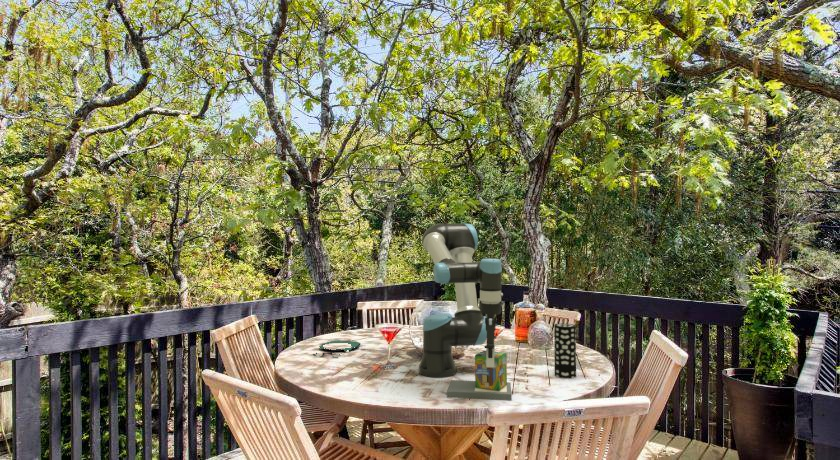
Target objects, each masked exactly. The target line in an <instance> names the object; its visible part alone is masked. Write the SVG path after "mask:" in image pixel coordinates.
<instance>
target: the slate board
mask: <svg viewBox="0 0 840 460" xmlns="http://www.w3.org/2000/svg"><path fill="white" fill-rule="evenodd" d="M511 385H512V384H511V382H510V381H507V385H506V386H504V387H503V388H502V389H500V390H499V391H498V390H491V389H483V388H476V387H475V380H462V379H461V380H460V379H459V380H458V379H450V381H449V384H448V387H447V390H446V398H452V397H458V398H457V399H475V400H498V401H512V397H513V396H512V386H511Z"/></svg>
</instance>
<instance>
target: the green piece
mask: <svg viewBox="0 0 840 460" xmlns="http://www.w3.org/2000/svg"><path fill="white" fill-rule="evenodd" d="M329 343H348V344H351V346H352V347H351V348H345V349H342V350H344V351H343V352H345V351H347V350H350V351H351V350H354V349H357V348H359V347H360V346H361V343H360V342H359V341H356V340H354V341H353V340H331V341H327V342H325V343H322V344H320V345H319V346H318V348H319V347H320V348H321V349H324V347H323V345H325V344H329ZM354 347H355V348H354ZM320 348H319V349H320ZM321 349H320V350H321ZM327 350H329V349H326V348H325V350H324V351H327ZM330 350H331V349H330ZM330 352H342V351H341V349H336V350H331V351H330ZM339 355H340V354H339Z"/></svg>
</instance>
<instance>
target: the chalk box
mask: <svg viewBox="0 0 840 460" xmlns="http://www.w3.org/2000/svg"><path fill="white" fill-rule="evenodd" d="M507 355H508V354H507V353H506V352H499V351H495V352H494V367H486V350H482V351H479V352H478V353H477V354H475V355H474V372H475V374H474V376H475V378H474V381H475V387H476V388H483V389H491V390H498V391H499V390H500V389H502V388H503V387H504V386H506V385H507V382H508V367H507V365H508V361H507V358H508V357H507Z"/></svg>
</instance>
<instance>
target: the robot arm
mask: <svg viewBox="0 0 840 460" xmlns="http://www.w3.org/2000/svg"><path fill="white" fill-rule="evenodd" d="M478 240H479V237H478V233H477V230H476V228H475V226H474V225H473V224H471V223H462V222H461V223H436V224H434V225H432V226H430V227H428V228H427V229H426V230H425V231H424V233H423V235H422V238H421V243H422V246H423V248H424V250H425V251H426V252H428V253H429V256H430V258H431V260H432V262H433V264H434V265H433V270H432V271H433V273H432V274H433V280H434V282H435V283H438V284H454V287H455V297H456V307H457V308H456V309H457V310H456V311H455V312H454V315H453V316H454V317H453V316H452V314H450V313H436V314H432V315H428V316H426V317H425V318H424V320H423V324H422V336H423V337H422V342H423V345H422V346H423V347H422V350H423V351H422V352H423V353H422V357H421V360H420V363H419V368H418V372H419V374H420V375H421V374H422V376H424V377H430V378H447V377H451V376H454V375H456V373H457V366H456V363H455V360H454V356H453V351H452V350H453V349H452V347H463V346H465V347H467V346H469V347H470V346H473V347H475V346H480V345H484V344H485V342H486V345H484V349H485V351H486V367H494V352H496V351H495V349H496V348H495V341H496V340H495V339H497V335H495V331H496V326H497V317H495V315H500V314H501V313H502V303H501V302H502V297H503V296H504V293H503V292H502V271H503V269H502V261H501V259H499V258H482V259H481V260H480V261H476V262H473V256H472V255H474V254H475V250H476V249H477V248H478V247H479V246H478V244H479V242H478ZM476 283H479V285H480V286H479V287H480V288H479V301H480V303H479V306H478V298H477V297H478V296H477V289H476ZM485 315H487V316H485Z"/></svg>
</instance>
